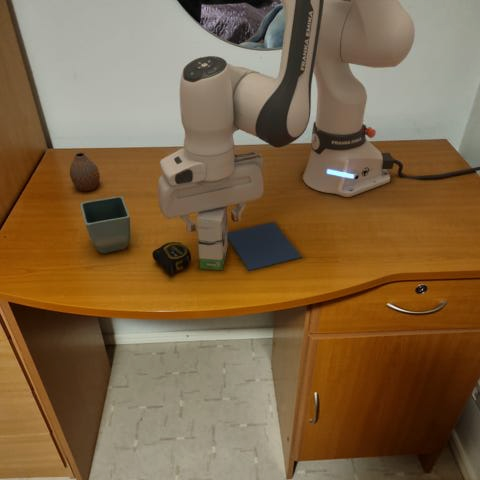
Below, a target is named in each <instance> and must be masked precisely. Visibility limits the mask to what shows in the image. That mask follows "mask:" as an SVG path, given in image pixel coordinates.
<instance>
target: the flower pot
mask: <svg viewBox="0 0 480 480" xmlns="http://www.w3.org/2000/svg"><path fill="white" fill-rule="evenodd" d="M79 206H80V208H81V212H82V216H83V221H84V224H85V228H86V230H87V233H88V236H89V238H90V241H91V243H92V245H93V246H94V248H95V249H96V250H97V251H98V252H99V253H101V254H108V253H113V252H118V251H123V250H126V249H127V247H128V245H129V243H130V240H131V215H130V212H129V210H128V207H127V205H126V203H125V200H124V197H123V196H121V195H119V196H112V197H107V198H106V197H105V198H101V199H95V200H88V201H83V202H81V203H80V204H79Z"/></svg>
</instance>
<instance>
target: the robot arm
mask: <svg viewBox="0 0 480 480" xmlns="http://www.w3.org/2000/svg"><path fill="white" fill-rule="evenodd" d="M279 2H280V4H281V6H282V8H283V11H284V19H285V20H284V21H285V23H284V33H283V41H282V47H281V48H282V49H281V56H280V63H279V71H278V74H277V76H276V77H273V76H269V75H266V74H263V73H261V72H259V71H256V70H253V69H250V68H246V67H243V66H235V65H232V64H230V63H228V61H226V59H224V58H223V57H220V56H215V55H207V56H202V57H197V58H195V59H193V60H191V61H190V62H189V63H187V64H186V65H185V66H184V68H183V69H182V71H181V76H180V80H179V109H180V110H179V111H180V119H181V124H182V128H183V130H184V139H183V147H181V148H179V149H178V150H176V151H175V152H173V153H171V154H169V155H167V156H165V157H163V158H162V159H160V161H159V167H160V171H161V175H160V177H159V179H158V183H157V198H158V199H157V201H158V206H159V210H160V212H161V215H162V216H163V217H165V219H167V220H171V219H175V218H179V217H180V218H181V221H182V222H183V223H184V224H185V228H186V230H187V232H188V233H193V232H196V231H197V225H196V223H195V221H194V220H193V219H190V215H193V214H198V213H199V212H202V211H207V210H211V209H216V208H220V207H225V206H227V207H229V206H234V205H235V208H234V209H232V210H230V219H231V221H232V222H233V223H235V222H241V220H242V213H243V212H244V210H245V209H246V207H247V202H251V201H257V200H260V199H261V198H262V197H263V195H264V193H265V192H264V190H265V189H264V178H263V172H262V171H263V170H264V157H263V155H262V154H261V153H258V152H256V151H248V152H246V153H237V154H235V139H234V134H235V132H237V131H241V132H245V133H246V134H248V135H252V136H254V137H256V138H258V139H259V140H261V141H263V142H264V143H266V144H268V145H270V146H272V147H273V148H276V149H277V148H278V149H279V148H283V147H286V146H288V145H290V144H292V143H294V142H295V141H297V140H298V139H299V138H301V137H302V136H303V134H304V133H305V132H306V130H307V128H308V125H309V123H310V118H311V110H312V109H311V108H312V84H313V77H314V80H315V83H316V91H317V92H316V94H317V95H316V110H315V111H316V113H315V120H314V122H313V125H312V132H311V145H310V146H311V147H310V154H309V158H308V160H307V161H308V162H307V164H306V168H305V169H304V173H303V174H302V180H303V182H304V184H305V185H306V186H307V187H310V188H311V189H313V190H315V191H318V192H322V193H325V194H326V193H327V194H335V195H338V196H341V197H345V198H350V197H351V198H352V197H354V196H356V195H358V194H359V195H360V194H362V193H364V192H367V191H369V190H372V189H375V188H377V187H380V186H383V185H386V184H388V183H390V182H391V175H390V172H389V171H388V170H393V168H394V164H395V165H397V166H398V169H397V175H398V176H399V177H401V178H402V179H403V178H404V179H411V180H419V181H421V180H435V179H442V178H448V177H449V178H450V177H452V176H459V175H462V174H463V175H464V174H469V173H472V172H477V171H480V166H475V167H469V168H466V169H459V170H455V171H449V172H446V173H440V174H425V175H415V176H413V175H407V174H406V173H405V174H404V173H403V169H404V165H403V163H402V161H400V160H398V159H395V158H394V157H393V156H392V154H391V153H390V152H381V151H380V150H379V149H378V148H377V147H376V146H374V144H372V143H371V142H370V141H369V140H368V139H367V137H368V138H369V139H373V138H374V137H375V136H376V135H377V131H376V129H374V128H373V127H371V126H368V127H367V125H366V124H364V116H365V113H366V107H367V102H368V95H367V90H366V87H365V85H364V84H363V83H362V82H361V81H360V80H359V79H358V78H356V76H355V75H354V74H353V71H352V69H351V66H350V64H351V65H356V66H360V67H361V66H362V67H366V68H372V69H387V68H396V67H398V66H399V65H400V64H402V63H403V61H405V59H406V58H407V57H408V55H409V53H410V52H411V50H412V48H413V45H414V43H415V42H414V41H415V34H416V33H415V32H416V30H415V24H414V21H413V18H412V16H411V14H410V13H408V11H407V10H406V9H405V7H404V6H402V4H401V3H400V1H399V0H279Z"/></svg>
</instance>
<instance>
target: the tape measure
mask: <svg viewBox="0 0 480 480" xmlns="http://www.w3.org/2000/svg"><path fill="white" fill-rule="evenodd" d="M152 258H153V260H154V261H155V262H156V263H157V264H158V265H160V266H161V267H162V269H163V270H164V271H165V272H166V274H167V275H169V276H174V275H175V274H176V273H177V272H180V271H183V270H185V269H187V268H188V267H189V265H190V264H191V260H192V253H191V250H190V248H189V247H188V246H187V245H186V244H184V243H182V242H179V241H178V242H177V241H171V242H167V243H165V244H163V245H161V246H160V247H158V248H156V249H155V250H153V251H152Z"/></svg>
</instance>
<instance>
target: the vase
mask: <svg viewBox="0 0 480 480" xmlns="http://www.w3.org/2000/svg"><path fill="white" fill-rule="evenodd" d="M69 177H70V180H71V183H72V184H73V186H75V188H77V189H78V190H80V191H81V192H91V191H94V190H95V189H96V188H98V186H99V184H100V179H101V178H100V171H99V168H98V166H97V164H96V163H95V162H94V161H93V160H92V159H91V158H89V157H88V156H87V154H86V153H85V152H82V151H80V152H76V153H75V154H74V157H73V160H72V161H71V163H70V167H69Z"/></svg>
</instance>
